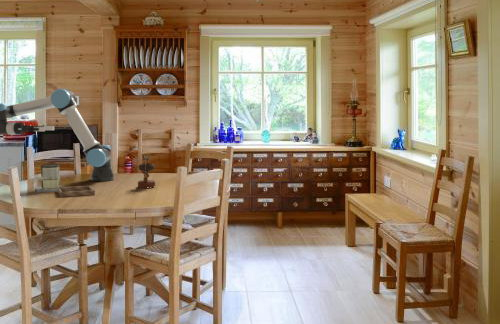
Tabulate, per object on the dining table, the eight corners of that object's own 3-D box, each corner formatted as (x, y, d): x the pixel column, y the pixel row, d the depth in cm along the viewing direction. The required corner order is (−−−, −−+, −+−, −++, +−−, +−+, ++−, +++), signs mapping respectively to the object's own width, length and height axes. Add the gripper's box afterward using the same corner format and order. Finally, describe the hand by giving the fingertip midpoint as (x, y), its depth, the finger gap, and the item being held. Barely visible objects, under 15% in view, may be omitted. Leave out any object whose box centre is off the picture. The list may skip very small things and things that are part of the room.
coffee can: (37, 188, 299) (36, 164, 297) (53, 186, 307) (52, 163, 305) (48, 190, 293) (47, 166, 291) (63, 188, 301) (63, 164, 300)
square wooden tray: (90, 189, 301) (90, 185, 300) (94, 194, 284) (94, 190, 284) (57, 191, 293) (57, 187, 293) (60, 197, 277) (60, 192, 277)
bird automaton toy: (157, 188, 308) (154, 155, 305) (138, 190, 305) (135, 157, 302) (154, 184, 322) (151, 153, 320) (136, 186, 319) (133, 154, 317)
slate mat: (64, 186, 310) (64, 185, 310) (66, 190, 296) (66, 189, 296) (35, 188, 304) (35, 187, 304) (36, 192, 289) (36, 191, 289)
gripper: (25, 133, 331) (57, 133, 330) (5, 135, 307) (40, 135, 306) (25, 121, 330) (57, 121, 330) (5, 123, 306) (39, 123, 305)
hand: (49, 128), depth 318 cm, fingers open, 13 cm apart
